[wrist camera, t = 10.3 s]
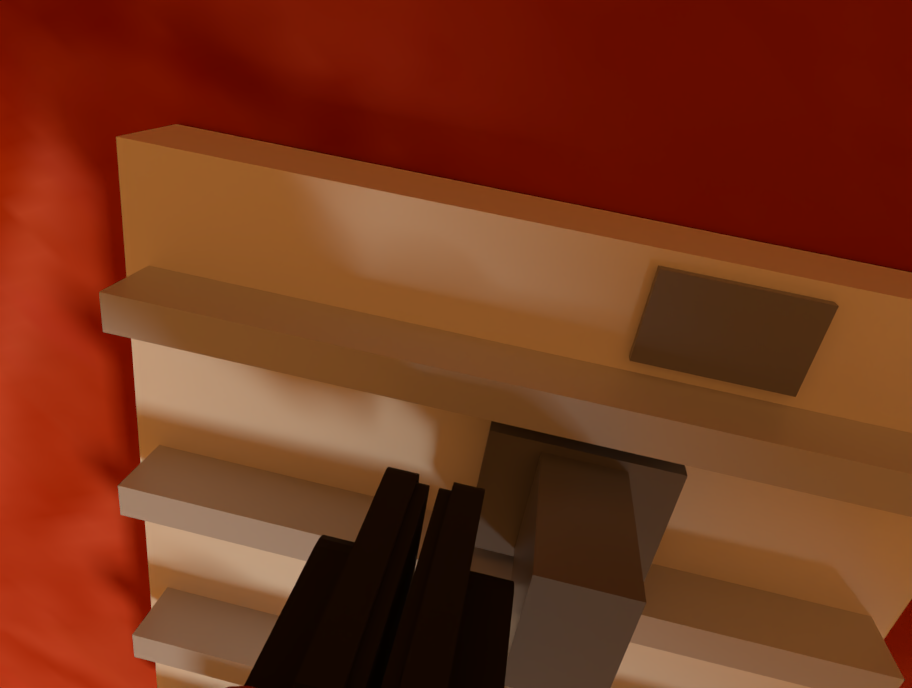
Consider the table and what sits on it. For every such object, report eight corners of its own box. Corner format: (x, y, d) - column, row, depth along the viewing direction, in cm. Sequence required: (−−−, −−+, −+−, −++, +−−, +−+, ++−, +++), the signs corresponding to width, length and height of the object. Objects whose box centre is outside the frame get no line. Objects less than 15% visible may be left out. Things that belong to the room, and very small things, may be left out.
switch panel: (1015, 293, 12) (1169, 380, 9) (690, 829, 21) (712, 969, 18) (176, 124, 13) (57, 149, 10) (195, 696, 22) (133, 804, 19)
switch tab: (678, 441, 12) (724, 609, 9) (636, 547, 14) (661, 735, 10) (495, 400, 13) (465, 547, 9) (471, 508, 14) (435, 676, 10)
